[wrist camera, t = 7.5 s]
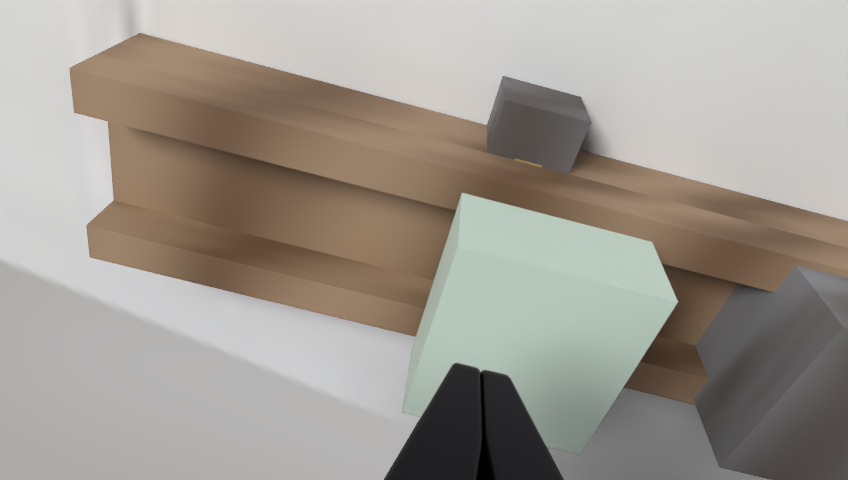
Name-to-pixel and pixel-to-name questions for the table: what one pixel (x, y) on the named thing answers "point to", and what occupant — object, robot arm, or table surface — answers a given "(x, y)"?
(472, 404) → the robot arm
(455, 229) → the block
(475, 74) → the table surface
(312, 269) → the beam
